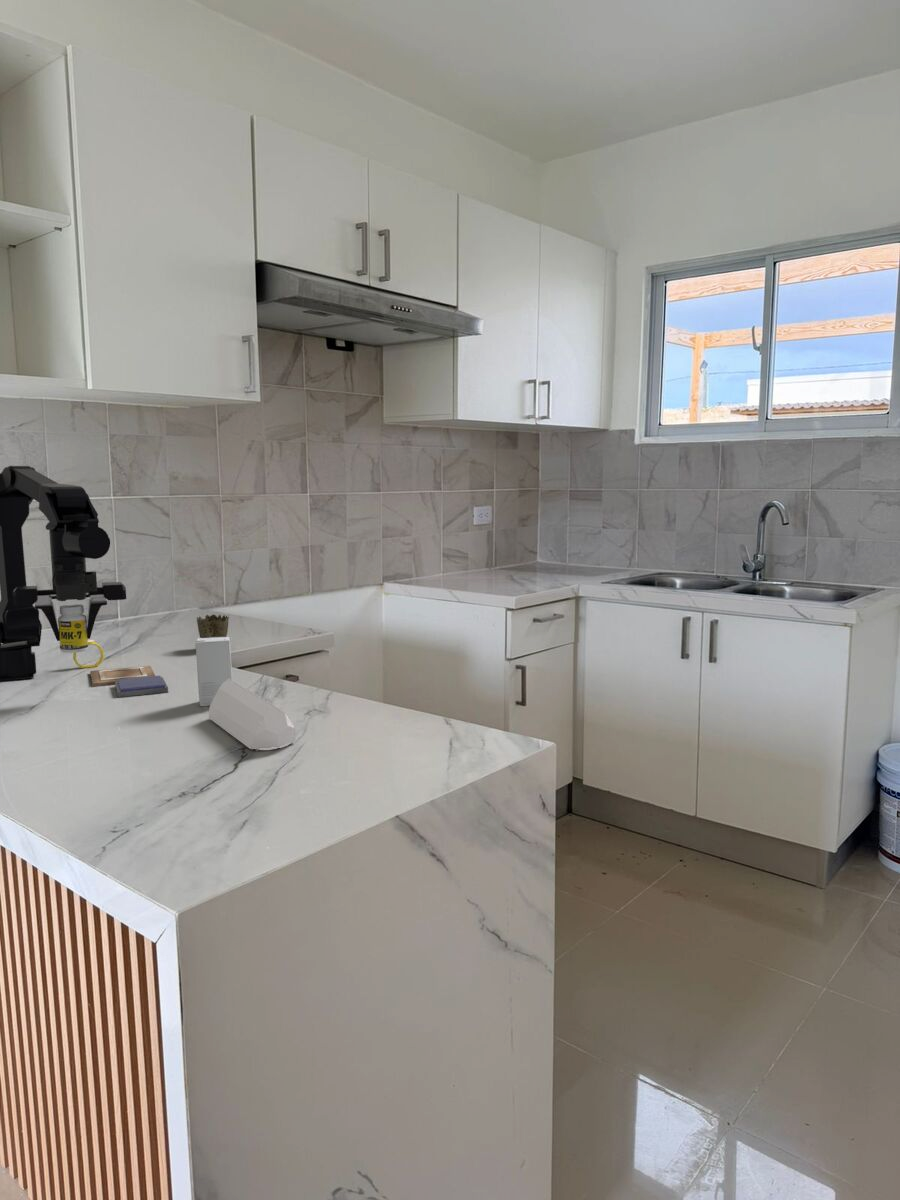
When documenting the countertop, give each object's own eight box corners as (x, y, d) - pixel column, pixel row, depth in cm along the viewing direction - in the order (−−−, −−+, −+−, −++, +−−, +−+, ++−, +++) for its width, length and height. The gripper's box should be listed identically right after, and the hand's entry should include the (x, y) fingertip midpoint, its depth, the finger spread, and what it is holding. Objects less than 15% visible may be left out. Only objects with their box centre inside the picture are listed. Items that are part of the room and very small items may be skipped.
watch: (76, 671, 180) (72, 644, 179) (74, 668, 182) (70, 642, 181) (105, 666, 183) (102, 639, 182) (103, 663, 185) (99, 637, 184)
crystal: (193, 698, 143) (242, 733, 123) (228, 673, 145) (281, 704, 126) (216, 731, 146) (267, 771, 126) (249, 706, 148) (305, 741, 129)
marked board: (92, 686, 166) (92, 682, 165) (90, 673, 176) (90, 669, 176) (156, 680, 171) (156, 676, 170) (150, 668, 181) (150, 664, 181)
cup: (210, 653, 196) (209, 620, 195) (191, 650, 201) (190, 617, 200) (236, 648, 202) (235, 616, 201) (217, 645, 207) (215, 613, 205)
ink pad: (118, 697, 157) (117, 689, 157) (115, 686, 165) (114, 679, 165) (168, 692, 161) (167, 684, 161) (162, 682, 169) (162, 674, 169)
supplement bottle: (58, 653, 152) (54, 608, 151) (62, 648, 156) (59, 604, 155) (86, 652, 153) (83, 607, 152) (90, 647, 158) (87, 603, 156)
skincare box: (233, 699, 156) (231, 635, 155) (233, 705, 152) (230, 640, 150) (199, 701, 155) (196, 637, 153) (198, 707, 150) (195, 641, 149)
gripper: (8, 561, 141) (15, 652, 143) (126, 557, 149) (131, 643, 151) (11, 556, 151) (17, 640, 153) (121, 552, 159) (126, 632, 161)
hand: (73, 639), depth 155 cm, fingers closed on supplement bottle, 5 cm apart
